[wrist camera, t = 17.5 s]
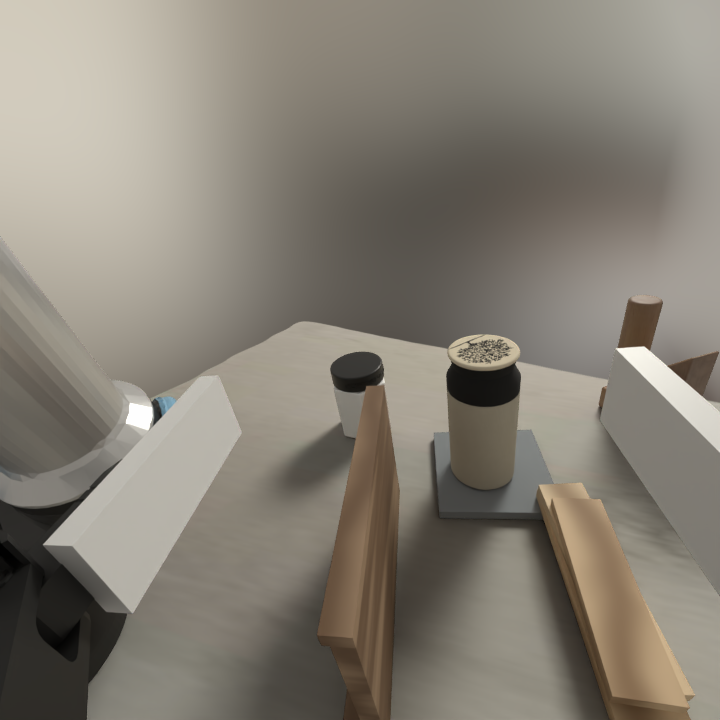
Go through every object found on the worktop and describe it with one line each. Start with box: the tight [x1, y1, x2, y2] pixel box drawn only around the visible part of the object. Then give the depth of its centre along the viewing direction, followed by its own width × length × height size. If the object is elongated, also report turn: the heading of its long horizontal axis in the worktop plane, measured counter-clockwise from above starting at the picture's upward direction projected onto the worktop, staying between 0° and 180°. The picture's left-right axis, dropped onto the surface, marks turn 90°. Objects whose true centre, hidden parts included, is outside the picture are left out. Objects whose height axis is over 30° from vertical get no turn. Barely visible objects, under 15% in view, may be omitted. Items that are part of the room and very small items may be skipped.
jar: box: [330, 352, 391, 438], centre depth 58 cm, size 9×8×12 cm
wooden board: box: [317, 385, 400, 720], centre depth 34 cm, size 4×24×17 cm, turn 172°
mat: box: [434, 430, 554, 520], centre depth 48 cm, size 14×14×1 cm
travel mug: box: [446, 335, 521, 490], centre depth 44 cm, size 8×8×18 cm
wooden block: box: [599, 295, 719, 408], centre depth 48 cm, size 4×11×18 cm, turn 12°
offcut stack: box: [536, 483, 695, 720], centre depth 33 cm, size 6×20×4 cm, turn 173°
